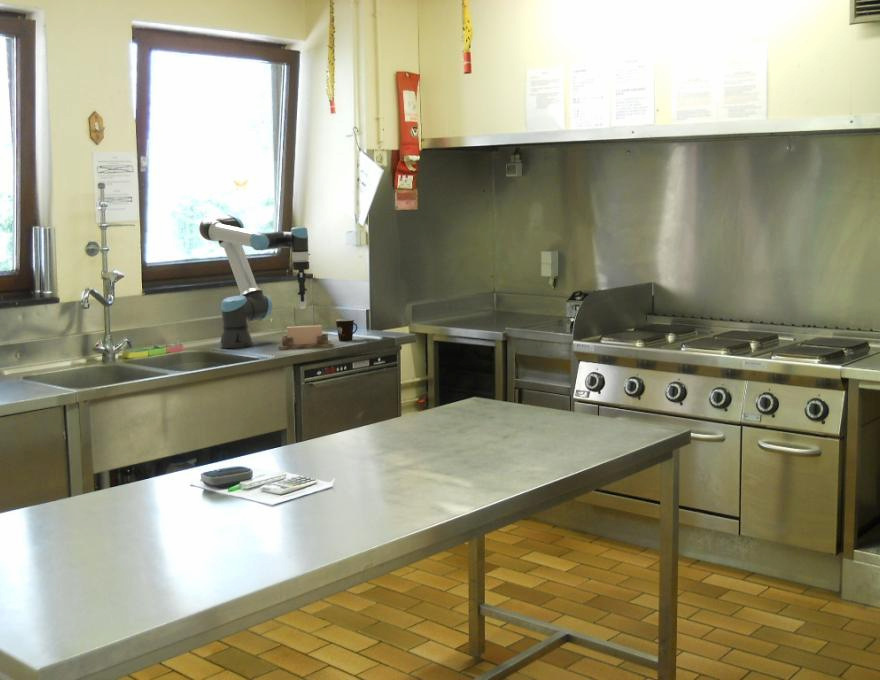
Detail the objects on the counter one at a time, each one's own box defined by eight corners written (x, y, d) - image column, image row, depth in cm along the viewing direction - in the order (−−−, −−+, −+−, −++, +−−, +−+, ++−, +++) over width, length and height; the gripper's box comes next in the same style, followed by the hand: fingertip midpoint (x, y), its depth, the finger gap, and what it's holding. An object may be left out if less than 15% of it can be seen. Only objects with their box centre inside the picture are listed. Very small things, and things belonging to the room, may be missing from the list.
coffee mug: (334, 340, 496) (333, 319, 494) (351, 338, 499) (350, 318, 498) (342, 343, 485) (341, 322, 484) (359, 341, 489) (358, 320, 488)
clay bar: (287, 344, 476) (286, 327, 475) (288, 343, 479) (287, 326, 478) (322, 343, 478) (321, 326, 477) (322, 342, 481) (321, 325, 480)
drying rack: (279, 350, 471) (278, 339, 471) (280, 346, 483) (279, 335, 482) (331, 347, 474) (331, 336, 473) (331, 343, 486) (330, 333, 485)
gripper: (308, 262, 461) (311, 309, 464) (309, 258, 485) (311, 303, 489) (292, 263, 460) (294, 310, 463) (293, 259, 484) (295, 303, 488)
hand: (303, 306), depth 476 cm, fingers open, 13 cm apart
